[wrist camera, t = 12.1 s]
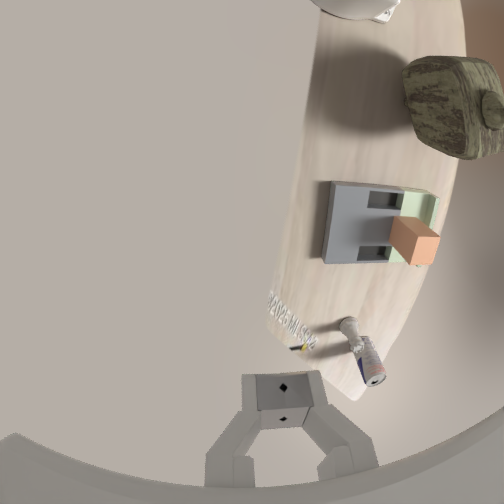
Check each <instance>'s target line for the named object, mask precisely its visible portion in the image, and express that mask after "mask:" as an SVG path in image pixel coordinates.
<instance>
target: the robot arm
mask: <svg viewBox="0 0 504 504" xmlns="http://www.w3.org/2000/svg"><path fill="white" fill-rule="evenodd" d="M311 1H312V2H313V3H314V4H316V5H317V6H318V7H320V8H321V9H323V10H325V11H327V12H329V13H331V14H333V15H336V16H338V17H342V18H346V19H353V20H360V19H370V20H373V21H376V22H380V23H386V22H387V21H389V19H390V17H391V15H392V13H393V11H394V9H395V7H396V5H397V4H399V3H400V0H311ZM384 12H385V13H384ZM290 427H302V428H303V429H304V430H305V432H306V433H307V434H308V435H309V436H310V437H311V438H312V440H313V441H314V442H315V443H316V444H317V445H318V446H319V447H320V448H321V449H322V451H323V452H324V453H325V454H326V455H327V456H326V457H325V459H324V460H323V461H322V462H321V463H320V464H319V465H318V466H317V470H318V476H319V481H316V482H310V483H303V484H295V485H285V486H274V487H257V488H255V478H254V461H253V458H251V457H250V456H245V454H246V453H247V451H248V450H249V448H250V446H251V445H252V443H253V442H254V440H255V438H256V437H257V435H258V433H259V432H260V430H263V429H275V428H290ZM0 504H504V407H502V408H501V409H499V410H498V411H496V412H495V413H493V414H492V415H490V416H489V417H487V418H485V419H484V420H482V421H481V422H479V423H477V424H476V425H474V426H472V427H470V428H469V429H467V430H465V431H463V432H461V433H460V434H458V435H456V436H454V437H452V438H450V439H448V440H446V441H444V442H442V443H440V444H438V445H435V446H433V447H431V448H429V449H426V450H424V451H422V452H419V453H417V454H414V455H412V456H409V457H407V458H404V459H401V460H398V461H395V462H392V463H389V464H387V465H383V466H380V467H379V464H378V461H377V457H376V453H375V450H374V446H373V443H372V439H371V438H370V437H369V436H368V435H367V434H365V433H364V432H363V431H362V430H360V428H358V427H357V426H356V425H355V424H354V423H353V422H351V421H350V420H349V419H348V418H347V417H346V416H345V415H343V414H342V413H341V412H340V411H339V410H338V409H337V408H336V407H334V406H333V405H332V404H330V405H328V401H327V397H326V393H325V389H324V386H323V381H322V377H321V373H320V372H319V370H313V371H300V372H290V373H279V374H242V411H238V413H237V414H236V416H235V417H234V418H233V419H232V421H231V422H230V423H229V425H228V426H227V428H226V429H225V430H224V432H223V433H222V434H221V435H220V437H219V438H218V439H217V441H216V442H215V443H214V445H213V446H212V447H211V448H210V450H209V451H208V452H207V453H206V463H205V486H204V487H202V486H190V485H181V484H173V483H166V482H159V481H154V480H149V479H143V478H139V477H134V476H130V475H126V474H121V473H117V472H114V471H110V470H106V469H103V468H100V467H96V466H94V465H90V464H88V463H85V462H82V461H79V460H76V459H73V458H71V457H68V456H66V455H63V454H61V453H58V452H56V451H54V450H51V449H49V448H47V447H45V446H43V445H40V444H38V443H36V442H34V441H32V440H30V439H28V438H26V437H24V436H23V435H21V434H18V433H13V434H11V435H9V436H7V437H5V438H4V439H2V440H1V441H0Z"/></svg>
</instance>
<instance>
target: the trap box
mask: <svg viewBox="0 0 504 504" xmlns="http://www.w3.org/2000/svg"><path fill="white" fill-rule="evenodd" d="M439 201H440V198H438V197H437V196H435V195H433V194H432V193H430V192H428V191H427V190H420V189H413V188H405V187H396V186H387V185H377V184H366V183H354V182H340V181H331V186H330V195H329V204H328V212H327V220H326V227H325V234H324V241H323V248H322V255H321V257H322V259H323V261H324V263H325V264H348V263H386V262H406V260H405V259H404V258H403V257H402V256H401V255H400V254H399V253H398V251H397V250H396V249H395V248H394V247H393V246H392V245H391V244H390V243H389V242H388V241H389V237H390V233H391V228H392V224H393V219H394V216H407V217H416V218H418V219H419V220H420V221H422V222H423V223H424V224H425V225H427V226H428V227H429V228H430V229H431V230H432V229H433V225H434V222H435V218H436V214H437V210H438V205H439ZM416 266H417V267H421V265H416Z"/></svg>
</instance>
